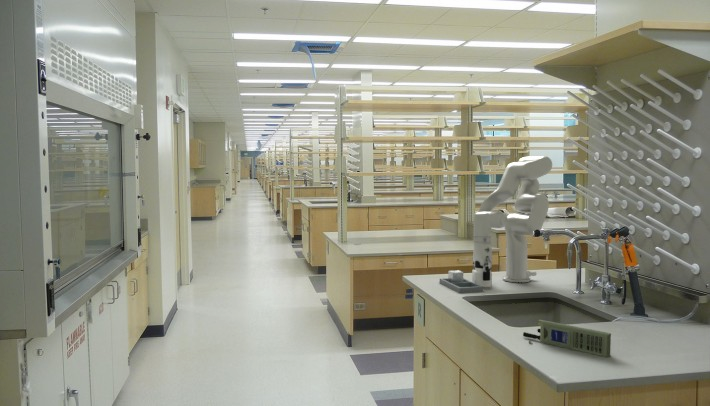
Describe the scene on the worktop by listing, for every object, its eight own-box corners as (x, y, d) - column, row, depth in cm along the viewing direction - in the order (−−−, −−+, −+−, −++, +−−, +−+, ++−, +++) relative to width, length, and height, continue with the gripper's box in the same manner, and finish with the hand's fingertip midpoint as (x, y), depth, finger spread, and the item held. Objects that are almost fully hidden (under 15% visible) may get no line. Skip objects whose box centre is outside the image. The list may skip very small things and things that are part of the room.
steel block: (458, 283, 239) (458, 270, 238) (463, 285, 234) (463, 272, 234) (448, 283, 238) (448, 270, 237) (452, 286, 233) (453, 272, 232)
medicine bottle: (491, 288, 231) (492, 261, 230) (475, 288, 231) (475, 261, 230) (487, 284, 238) (487, 258, 237) (472, 285, 238) (472, 258, 237)
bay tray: (461, 282, 242) (461, 277, 242) (483, 292, 222) (483, 286, 222) (439, 284, 240) (439, 278, 240) (459, 294, 219) (459, 288, 219)
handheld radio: (607, 358, 143) (520, 339, 160) (611, 356, 145) (525, 337, 162) (608, 334, 142) (521, 317, 160) (612, 332, 145) (526, 316, 162)
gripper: (499, 241, 226) (499, 282, 227) (480, 237, 243) (480, 274, 243) (483, 242, 224) (483, 282, 225) (465, 237, 241) (465, 275, 242)
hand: (481, 278), depth 234 cm, fingers closed on medicine bottle, 8 cm apart
